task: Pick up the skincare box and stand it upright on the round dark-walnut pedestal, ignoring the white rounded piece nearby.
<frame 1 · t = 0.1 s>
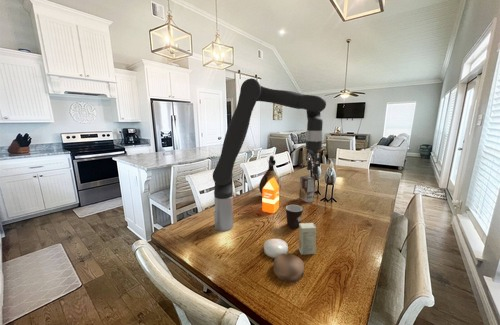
hand: (312, 172, 104), 29 cm above the table, fingers open, 8 cm apart
ceramic jug: (269, 197, 149), on the table
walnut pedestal: (288, 270, 77), on the table
orange juice: (270, 209, 129), on the table
white rounded piece: (275, 250, 89), on the table
coffee box: (306, 199, 144), on the table
skincare box: (306, 251, 88), on the table
coffee mug: (295, 225, 109), on the table
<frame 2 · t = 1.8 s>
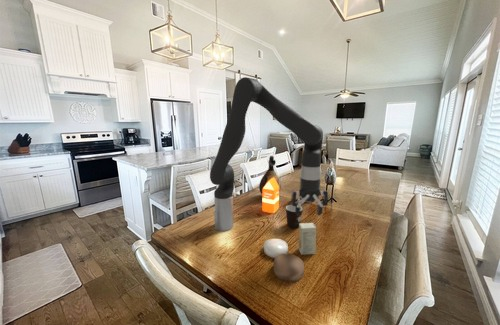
hand: (308, 214, 84), 17 cm above the table, fingers open, 8 cm apart
nothing on the table moved.
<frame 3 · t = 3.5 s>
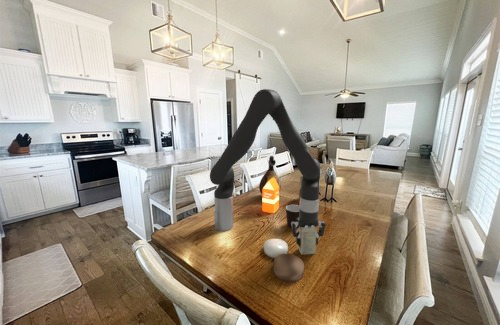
hand: (306, 244, 87), 3 cm above the table, fingers closed on skincare box, 6 cm apart
skincare box: (306, 251, 88), on the table, touching gripper
everything else where it was.
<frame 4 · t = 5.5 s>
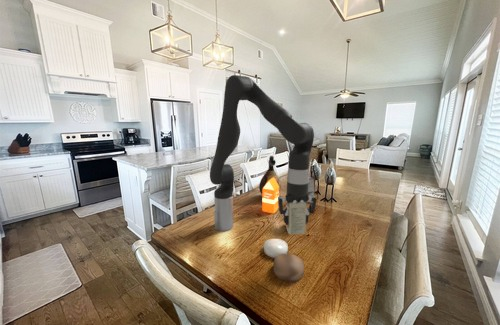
hand: (295, 223, 76), 17 cm above the table, fingers closed on skincare box, 6 cm apart
skincare box: (295, 231, 77), point 14 cm above the table, touching gripper
everything else where it was.
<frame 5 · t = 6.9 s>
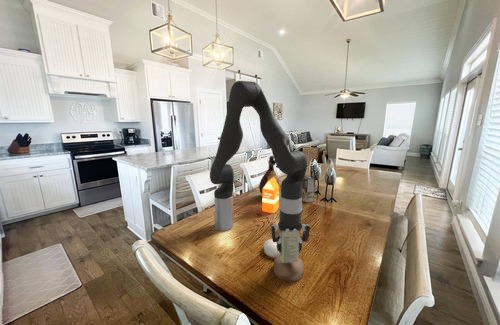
hand: (289, 250, 75), 8 cm above the table, fingers closed on skincare box, 6 cm apart
skincare box: (288, 259, 76), point 5 cm above the table, touching gripper
everything else where it was.
when the fingers open (7 cm above the table, at t = 7.7 s): skincare box stays where it is, resting on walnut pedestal.
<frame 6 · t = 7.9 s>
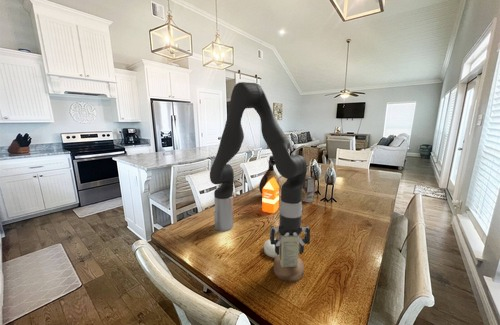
hand: (289, 253, 75), 7 cm above the table, fingers open, 8 cm apart
skincare box: (287, 263, 76), point 3 cm above the table, touching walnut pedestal
everything else where it was.
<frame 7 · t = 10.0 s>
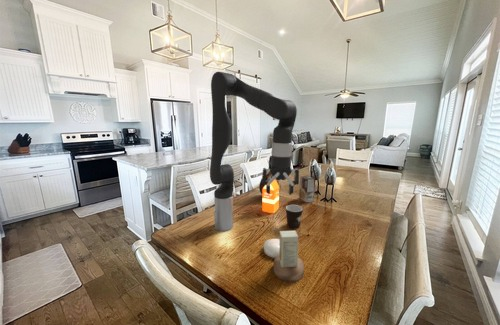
hand: (279, 193, 82), 26 cm above the table, fingers open, 8 cm apart
nothing on the table moved.
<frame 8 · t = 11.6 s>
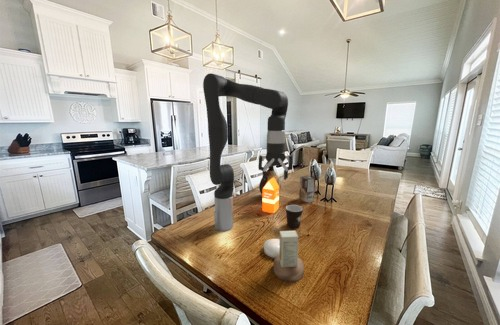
hand: (275, 179, 88), 30 cm above the table, fingers open, 8 cm apart
nothing on the table moved.
at the end: skincare box inside the target area on the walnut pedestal (0.3 cm from its centre), point 2.8 cm above the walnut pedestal's base; skincare box tilted 0°; the gripper is holding nothing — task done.
